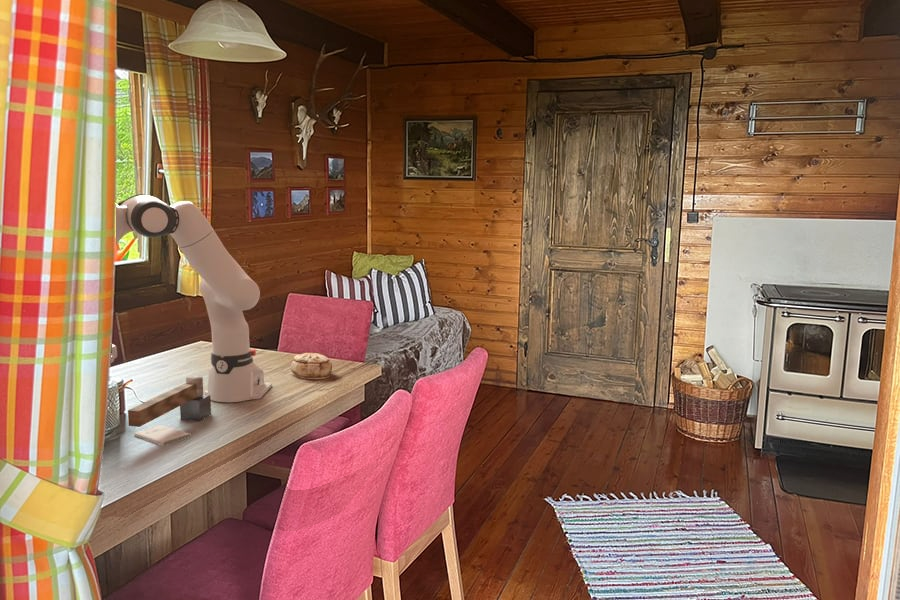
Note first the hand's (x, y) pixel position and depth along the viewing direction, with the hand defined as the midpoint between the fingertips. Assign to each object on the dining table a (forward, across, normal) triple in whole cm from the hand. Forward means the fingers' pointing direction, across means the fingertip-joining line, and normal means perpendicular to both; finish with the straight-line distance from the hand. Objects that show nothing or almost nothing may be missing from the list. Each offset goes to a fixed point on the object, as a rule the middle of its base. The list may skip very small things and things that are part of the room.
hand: (109, 360), depth 187 cm
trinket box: (+27, +69, +20) cm, 77 cm away
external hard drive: (+13, +2, +21) cm, 25 cm away
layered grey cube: (+13, +18, +20) cm, 30 cm away
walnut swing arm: (+13, +5, +13) cm, 19 cm away
